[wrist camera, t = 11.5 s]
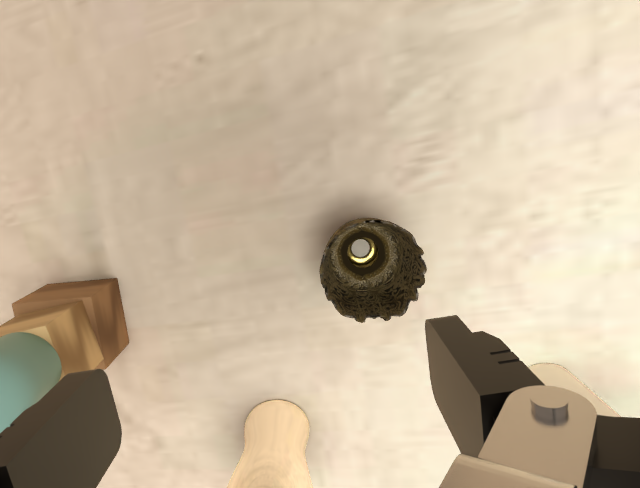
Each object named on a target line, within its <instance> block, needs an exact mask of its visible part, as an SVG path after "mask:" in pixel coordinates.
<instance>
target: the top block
mask: <svg viewBox="0 0 640 488" xmlns="http://www.w3.org/2000/svg"><path fill="white" fill-rule="evenodd" d="M14 332H26V333H31V334H34V335H37V336H39V337H41V338H43V339H44V340H46V341H47V342H48V343H49V344H50V345H51V346H52V347H53V348H54V349H55V350H56V352H57V354H58V356H59V358H60V361H61V366H62V372H61V377H60V380H61V379H62V378H63V377H64V376H65V375H67V374H68V373H74V372H80V371H87V370H94V369H95V368H96V367H97V366H98V365H99V363H100V362H101V361H102V360H103V359H104V358H103V355H102V353H101V350H100V347H99V344H98V342H97V339H96V336H95V334H94V331H93V328H92V326H91V323H90V320H89V317H88V315H87V312H86V309H85V307H84V304H83V301H82V300H79V301H75V302H71V303H67V304H62V305H58V306H54V307H50V308H45V309H41V310H37V311H33V312H28V313H24V314H20V315H18V316H16V317H14V318H13V319H11V320H9V321H8V322H6V323H4V324H3V325H1V326H0V337H2V336H4V335H6V334H10V333H14ZM60 380H59V381H60Z"/></svg>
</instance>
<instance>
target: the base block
mask: <svg viewBox="0 0 640 488" xmlns="http://www.w3.org/2000/svg"><path fill="white" fill-rule="evenodd" d="M79 300H82V301H83V304H84V307H85V309H86V312H87V315H88V317H89V320H90V323H91V326H92V328H93V331H94V334H95V336H96V339H97V342H98V344H99V347H100V350H101V353H102V355H103V358H104V359H103V360H102V361H101V362H100V363H99V365H98V366H97V367H96V368H95V369H102V370H103V369H106V368H107V367H108V366H109V365H110V364H111V363H112V362H113V360H114V359H115V358H116V357H117V356H118V355H119V354H120V353H121V351H122V350H123V349H124V348H125V347H126V346H127V345H128V343H129V338H128V333H127V328H126V322H125V317H124V312H123V306H122V301H121V296H120V290H119V285H118V280H117V278H113V279H102V280H90V281H79V282H68V283H56V284H47V285H45V286H43V287H42V288H40V289H38V290H36V291H34V292H33V293H31V294H29V295H27V296H25V297H23V298H22V299H20V300H18V301H16V302H14V303H13V304H12V307H13V311H14V315H15V317H16V316H18V315H20V314H24V313H28V312H33V311H37V310H41V309H45V308H50V307H54V306H58V305H62V304H67V303H71V302H75V301H79Z"/></svg>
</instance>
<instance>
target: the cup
mask: <svg viewBox="0 0 640 488" xmlns="http://www.w3.org/2000/svg"><path fill="white" fill-rule="evenodd" d="M358 239H364V240H366V241H367V242H368V243H369V245H370V251H369V253H368V254H367V255H366V256H365V257H356V256H355V255H354V254H353V253H352V251H351V246H352V244H353V242H354V241H356V240H358ZM423 254H424V252H423V250H422V249H421V248H420V247H419V246H418V245H417V243H416V241H415V238H414V237H413V235H412V234H411V233H410V232H408V231H407V230H405V229H403V228H401V227H399V226H398V225H396V224H394V223H391V222H388V221H383V220H380V219H375V218H361V219H357V220H353V221H351V222H348V223H346V224H345V225H343V226H342V227H340V228H339V229H338V230H337V231H336V232H335V233H334V234H333V236H332V237H331V239H330V240H329V242H328V244H327V246H326V249H325V251H324V255H323V258H322V262H321V266H320V278H321V284H322V286H323V288H325V294H326V297H327V299H328V301H332V303H333V304H334V306H335V308H336V309H337V311H338V312H339V313H340V314H341V315H343V316H345V317H350V318H355V320H356V321H358V322H361V323H363V322H365V320H366V318H369V317H370V318H373V319H375V318H377V317H380V318H383V319H384V320H385V321H388V320H390V319H391V316H402V315H404V314H405V313H406V311H407V309H408V305H409V303H410V301H417V300H418V292H417V288H421V286H422V285H424V283H425V278H424V276H425V275H424V274H425V273H426V271H427V268H426V264H425V262H424V260H423V259H422V258H421V255H423Z"/></svg>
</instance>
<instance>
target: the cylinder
mask: <svg viewBox="0 0 640 488" xmlns="http://www.w3.org/2000/svg"><path fill="white" fill-rule="evenodd" d="M61 372H62V366H61V361H60V358H59V356H58V354H57V352H56V350H55V349H54V348H53V347H52V346H51V345H50V344H49V343H48V342H47V341H46V340H44V339H43V338H41V337H39V336H37V335H34V334H31V333H26V332H14V333H10V334H6V335H4V336H2V337H0V433H1V432H2V431H3V430H4V429H6V428H7V427H10V424H11V423H12V422H13V421H14V420H15V419H16V418H17V417H18V416H19V415H20V414H21V413H22V412H23V411H24V410H26V409H27V408H29V407H31V406H32V405H34V404H35V403H37V402H38V401H39V400H40V399H41V398H42V397H44V396H45V395H46V394H47V393H48V392H49V391H50V390H51V389H52V388H53V387H54V386H55V385H56V384H57V383H58V382H59V380H60V377H61Z"/></svg>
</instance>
